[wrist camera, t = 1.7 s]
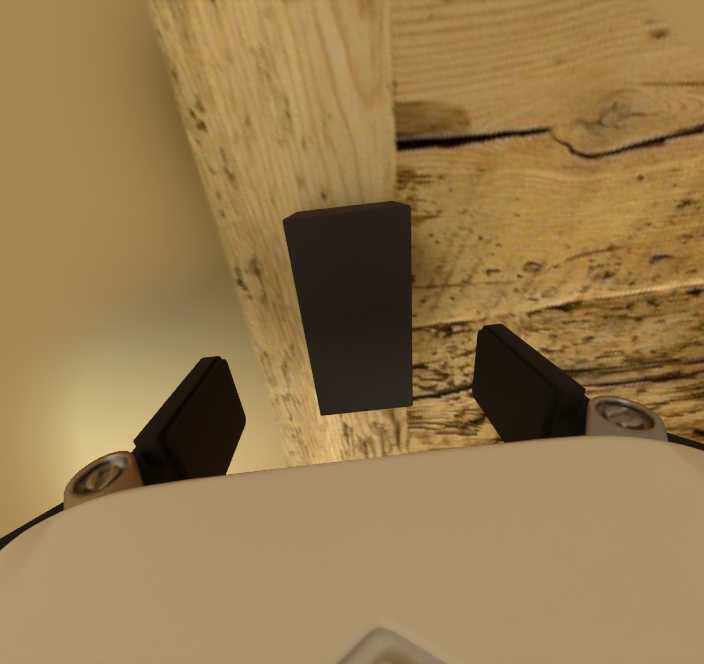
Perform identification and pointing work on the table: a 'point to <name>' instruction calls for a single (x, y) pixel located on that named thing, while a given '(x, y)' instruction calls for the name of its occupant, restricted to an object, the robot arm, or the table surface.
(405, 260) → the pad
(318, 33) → the table surface
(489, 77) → the table surface
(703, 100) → the table surface
